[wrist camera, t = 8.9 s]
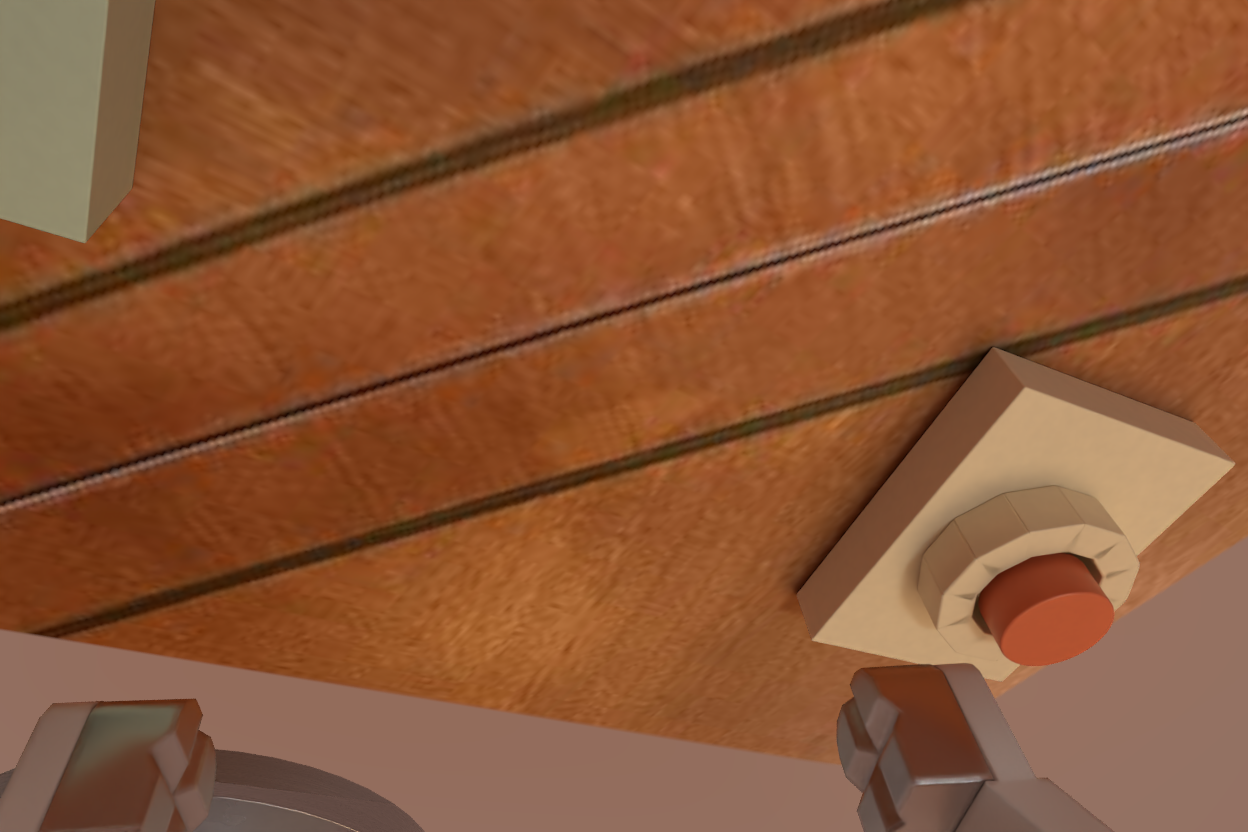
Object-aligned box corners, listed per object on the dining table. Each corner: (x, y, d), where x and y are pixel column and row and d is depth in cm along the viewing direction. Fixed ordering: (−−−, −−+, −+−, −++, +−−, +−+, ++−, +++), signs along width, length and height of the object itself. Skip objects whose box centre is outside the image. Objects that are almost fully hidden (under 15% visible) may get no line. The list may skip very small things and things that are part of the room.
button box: (978, 637, 36) (1023, 722, 33) (795, 594, 33) (825, 683, 30) (1195, 422, 30) (1275, 502, 27) (992, 345, 27) (1056, 425, 24)
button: (1036, 632, 30) (1062, 675, 29) (955, 612, 29) (977, 656, 28) (1109, 564, 28) (1139, 606, 27) (1025, 540, 27) (1052, 582, 26)
